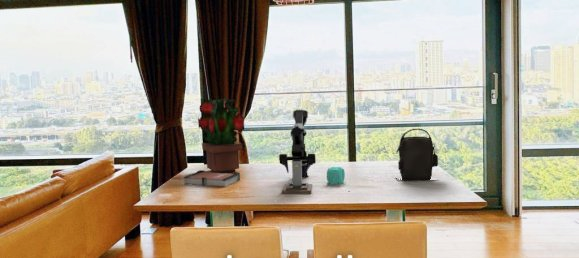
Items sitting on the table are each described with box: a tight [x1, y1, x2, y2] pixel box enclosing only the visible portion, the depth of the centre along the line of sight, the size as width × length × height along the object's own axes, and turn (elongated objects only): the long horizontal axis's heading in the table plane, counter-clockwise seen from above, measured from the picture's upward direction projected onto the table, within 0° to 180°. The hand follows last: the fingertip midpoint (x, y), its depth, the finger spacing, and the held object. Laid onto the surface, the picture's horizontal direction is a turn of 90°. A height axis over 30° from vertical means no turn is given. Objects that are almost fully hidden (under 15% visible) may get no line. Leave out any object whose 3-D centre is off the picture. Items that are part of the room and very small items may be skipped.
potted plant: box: [197, 98, 245, 173], centre depth 296 cm, size 22×22×45 cm
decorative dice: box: [326, 166, 346, 185], centre depth 257 cm, size 8×8×8 cm
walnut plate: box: [281, 182, 313, 195], centre depth 243 cm, size 14×14×2 cm
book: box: [183, 169, 241, 188], centre depth 267 cm, size 26×18×5 cm
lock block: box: [291, 160, 303, 188], centre depth 241 cm, size 5×4×14 cm
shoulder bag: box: [395, 128, 439, 182], centre depth 259 cm, size 23×9×28 cm, turn 87°
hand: (296, 172), depth 241 cm, fingers open, 9 cm apart
